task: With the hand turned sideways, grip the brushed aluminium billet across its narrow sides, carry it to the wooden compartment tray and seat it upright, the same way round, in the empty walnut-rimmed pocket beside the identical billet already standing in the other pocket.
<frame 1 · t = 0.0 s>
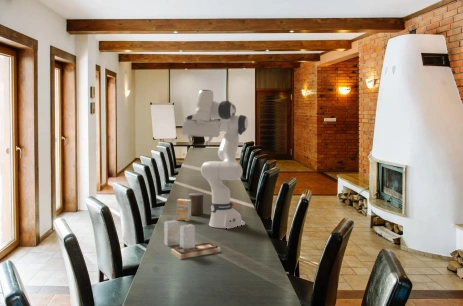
hand: (198, 144, 227), 52 cm above the table, tool tilted 20°, fingers open, 8 cm apart
pillar candle: (195, 214, 294), on the table
wooden compartment tray: (195, 252, 216), on the table
aluminium billet: (171, 244, 228), on the table
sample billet: (187, 249, 213), resting on wooden compartment tray
supplement box: (183, 220, 279), on the table
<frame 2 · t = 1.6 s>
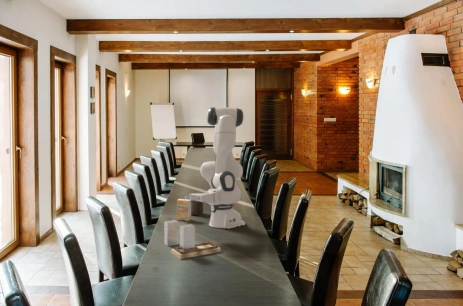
hand: (187, 198, 233), 23 cm above the table, tool horizontal, fingers open, 8 cm apart
nothing on the table moved.
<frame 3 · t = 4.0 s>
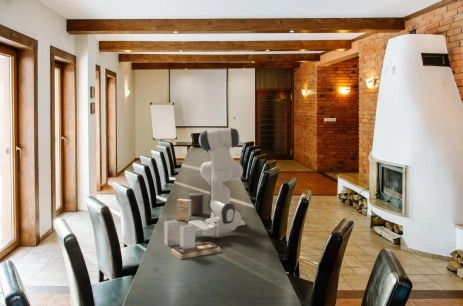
hand: (188, 229, 233), 6 cm above the table, tool horizontal, fingers open, 8 cm apart
nothing on the table moved.
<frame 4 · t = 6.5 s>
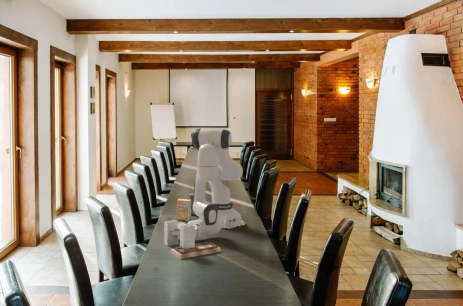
hand: (169, 232, 227), 7 cm above the table, tool horizontal, fingers closed on aluminium billet, 4 cm apart
aluminium billet: (171, 244, 228), on the table, touching gripper
everything else where it was.
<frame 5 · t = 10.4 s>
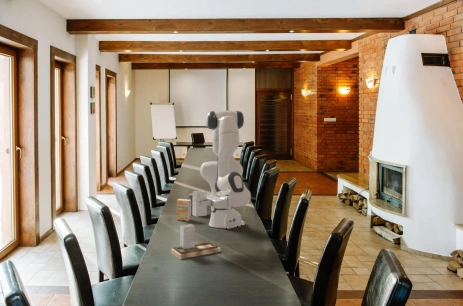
hand: (198, 202, 217), 24 cm above the table, tool horizontal, fingers closed on aluminium billet, 4 cm apart
aluminium billet: (199, 215, 218), point 18 cm above the table, touching gripper
everything else where it was.
when the fingers open (10 cm above the table, at t = 14.5 s): aluminium billet drops 1 cm, resting on wooden compartment tray.
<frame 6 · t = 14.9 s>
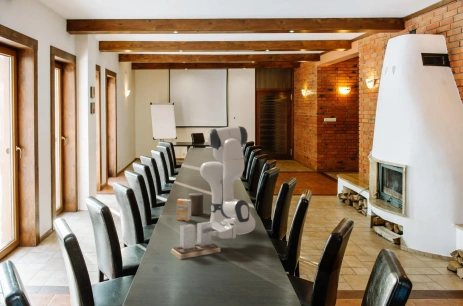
hand: (203, 231, 217), 10 cm above the table, tool horizontal, fingers open, 8 cm apart
aluminium billet: (204, 246, 218), point 2 cm above the table, touching wooden compartment tray
everything else where it was.
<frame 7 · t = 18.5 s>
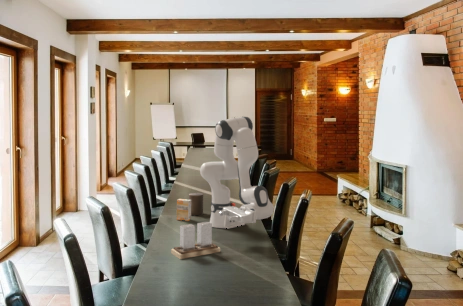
hand: (224, 216, 224), 16 cm above the table, tool horizontal, fingers open, 8 cm apart
nothing on the table moved.
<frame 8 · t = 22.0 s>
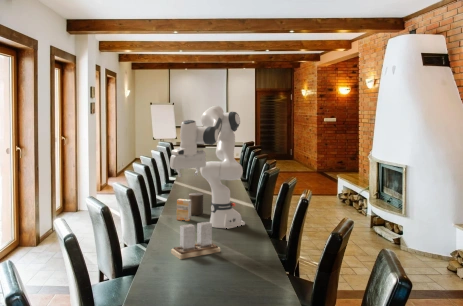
hand: (188, 176, 236), 34 cm above the table, tool pointing down, fingers open, 8 cm apart
nothing on the table moved.
at the end: aluminium billet 0.1 cm from the target spot on the wooden compartment tray, point 2.0 cm above the wooden compartment tray's base; aluminium billet tilted 0°; the gripper is holding nothing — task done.
